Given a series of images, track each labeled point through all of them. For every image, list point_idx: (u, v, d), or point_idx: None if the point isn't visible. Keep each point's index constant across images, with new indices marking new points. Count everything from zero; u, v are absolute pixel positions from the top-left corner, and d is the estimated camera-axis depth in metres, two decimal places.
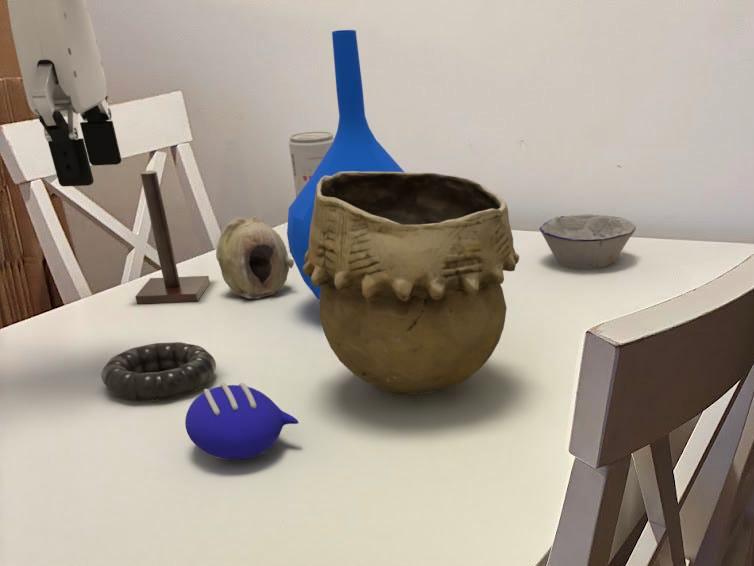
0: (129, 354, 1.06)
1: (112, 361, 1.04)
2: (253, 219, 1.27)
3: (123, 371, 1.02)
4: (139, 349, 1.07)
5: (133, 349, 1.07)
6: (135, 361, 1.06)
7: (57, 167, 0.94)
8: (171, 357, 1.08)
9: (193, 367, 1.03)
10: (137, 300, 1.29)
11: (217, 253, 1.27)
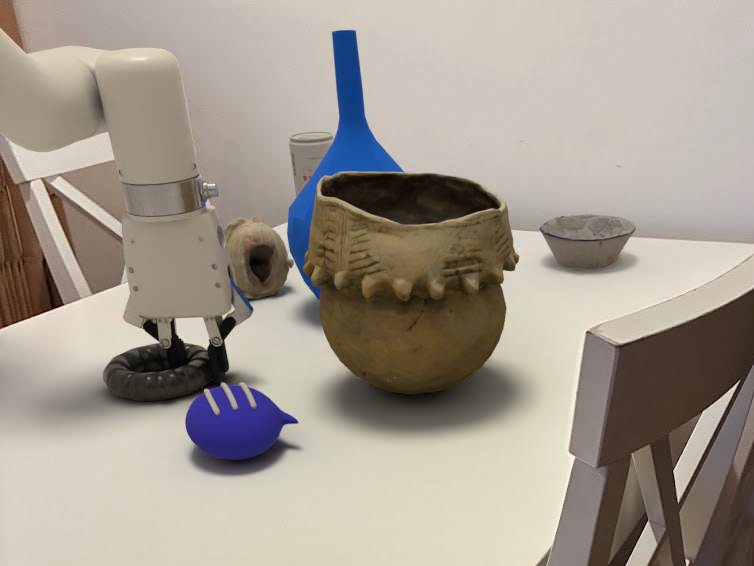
0: (130, 354, 1.06)
1: (113, 361, 1.04)
2: (253, 219, 1.27)
3: (124, 371, 1.02)
4: (140, 349, 1.07)
5: (134, 349, 1.07)
6: (136, 361, 1.06)
7: None
8: None
9: (194, 367, 1.03)
10: None
11: None
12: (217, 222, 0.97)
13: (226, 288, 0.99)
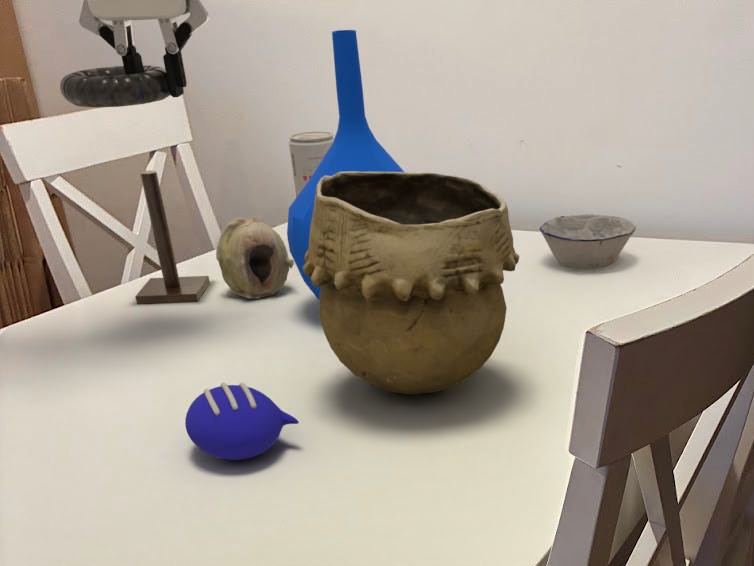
0: (89, 71, 1.07)
1: (71, 73, 1.05)
2: (253, 219, 1.27)
3: (80, 76, 1.02)
4: (99, 69, 1.08)
5: None
6: None
7: None
8: None
9: (150, 74, 1.03)
10: (137, 300, 1.29)
11: (217, 253, 1.27)
12: None
13: None
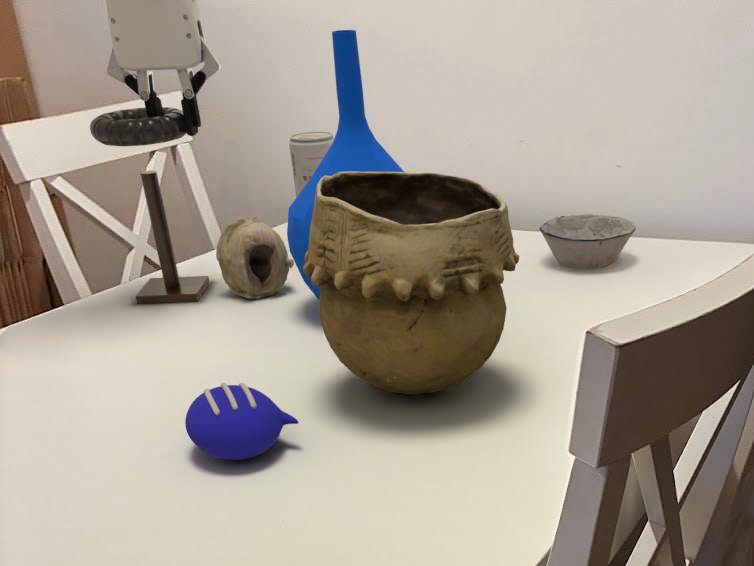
0: (114, 113, 1.21)
1: (99, 116, 1.19)
2: (253, 219, 1.27)
3: (108, 119, 1.17)
4: (123, 111, 1.22)
5: (118, 110, 1.22)
6: (120, 119, 1.21)
7: None
8: None
9: (170, 117, 1.18)
10: (137, 300, 1.29)
11: (217, 253, 1.27)
12: None
13: (196, 39, 1.14)
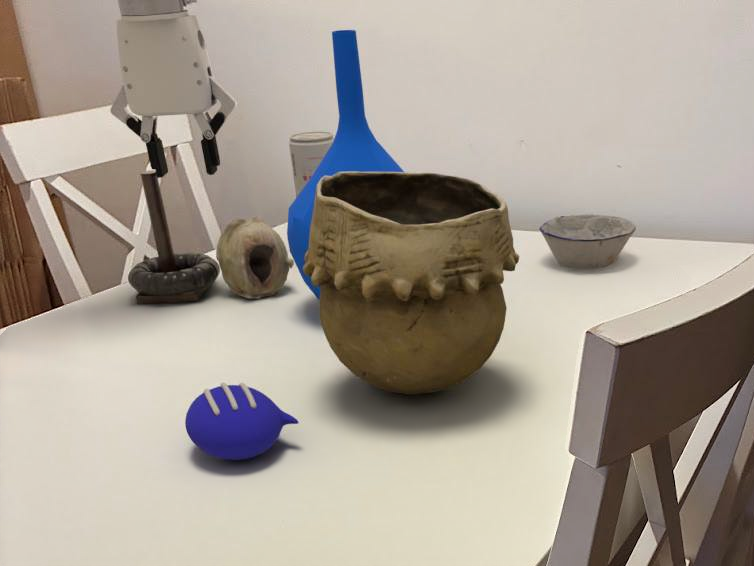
0: (150, 262, 1.32)
1: (136, 266, 1.30)
2: (253, 219, 1.27)
3: (145, 272, 1.27)
4: (157, 258, 1.33)
5: (153, 258, 1.32)
6: (154, 267, 1.32)
7: None
8: (183, 264, 1.33)
9: (201, 268, 1.28)
10: (137, 300, 1.29)
11: (217, 253, 1.27)
12: (198, 26, 1.14)
13: (206, 86, 1.16)
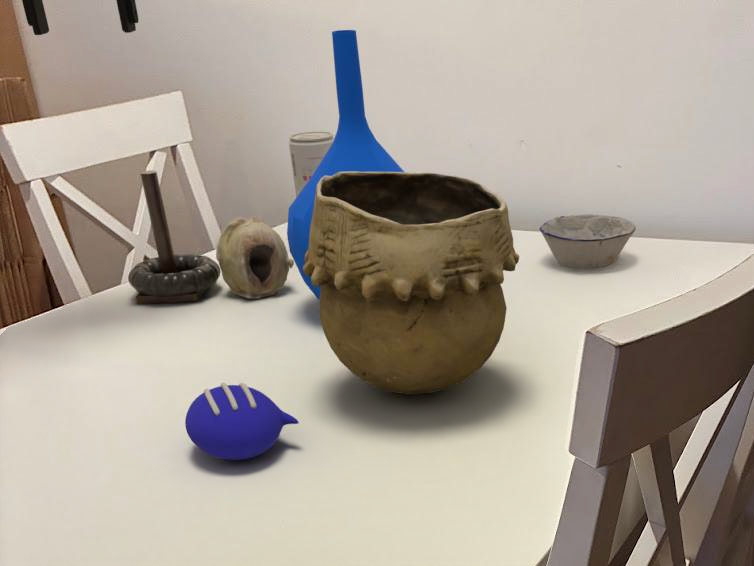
0: (150, 262, 1.32)
1: (137, 266, 1.30)
2: (253, 219, 1.27)
3: (146, 272, 1.27)
4: (158, 258, 1.33)
5: (153, 258, 1.32)
6: (155, 267, 1.32)
7: None
8: (184, 265, 1.33)
9: (202, 270, 1.28)
10: (137, 300, 1.29)
11: (217, 253, 1.27)
12: None
13: None
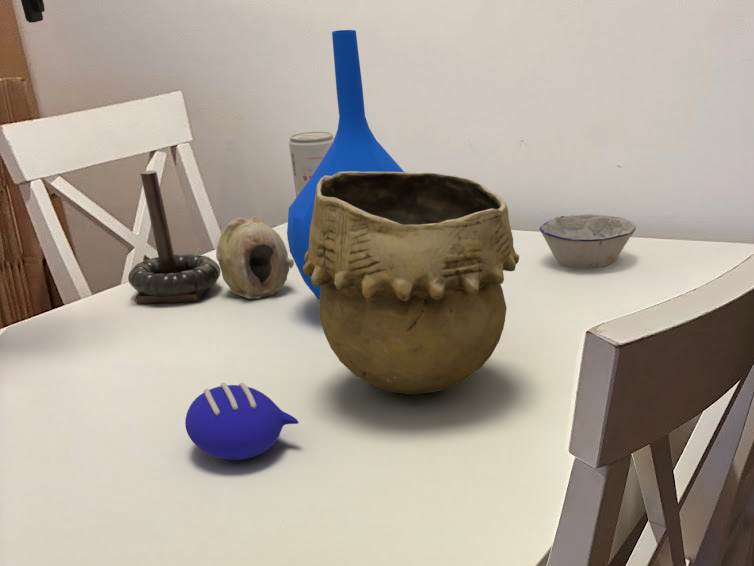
0: (150, 262, 1.32)
1: (137, 266, 1.30)
2: (253, 219, 1.27)
3: (146, 272, 1.27)
4: (158, 258, 1.33)
5: (153, 258, 1.32)
6: (155, 267, 1.32)
7: None
8: (184, 265, 1.33)
9: (202, 270, 1.28)
10: (137, 300, 1.29)
11: (217, 253, 1.27)
12: None
13: None
